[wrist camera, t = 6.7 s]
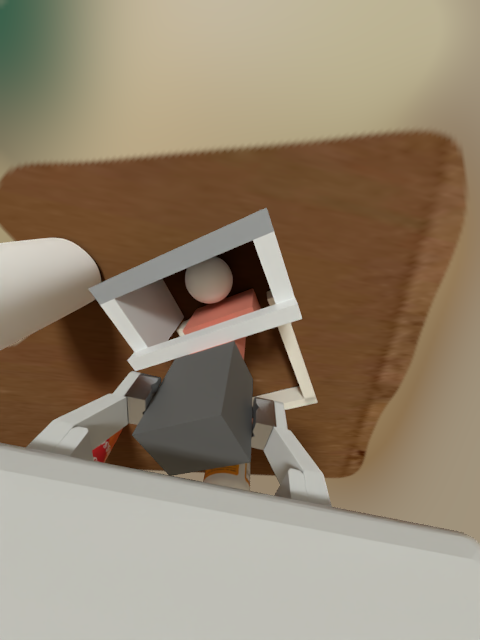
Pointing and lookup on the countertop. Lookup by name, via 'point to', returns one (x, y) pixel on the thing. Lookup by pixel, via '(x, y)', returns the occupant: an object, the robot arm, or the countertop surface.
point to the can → (42, 284)
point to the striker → (203, 400)
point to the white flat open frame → (305, 390)
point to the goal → (163, 312)
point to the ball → (209, 280)
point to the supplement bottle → (230, 476)
